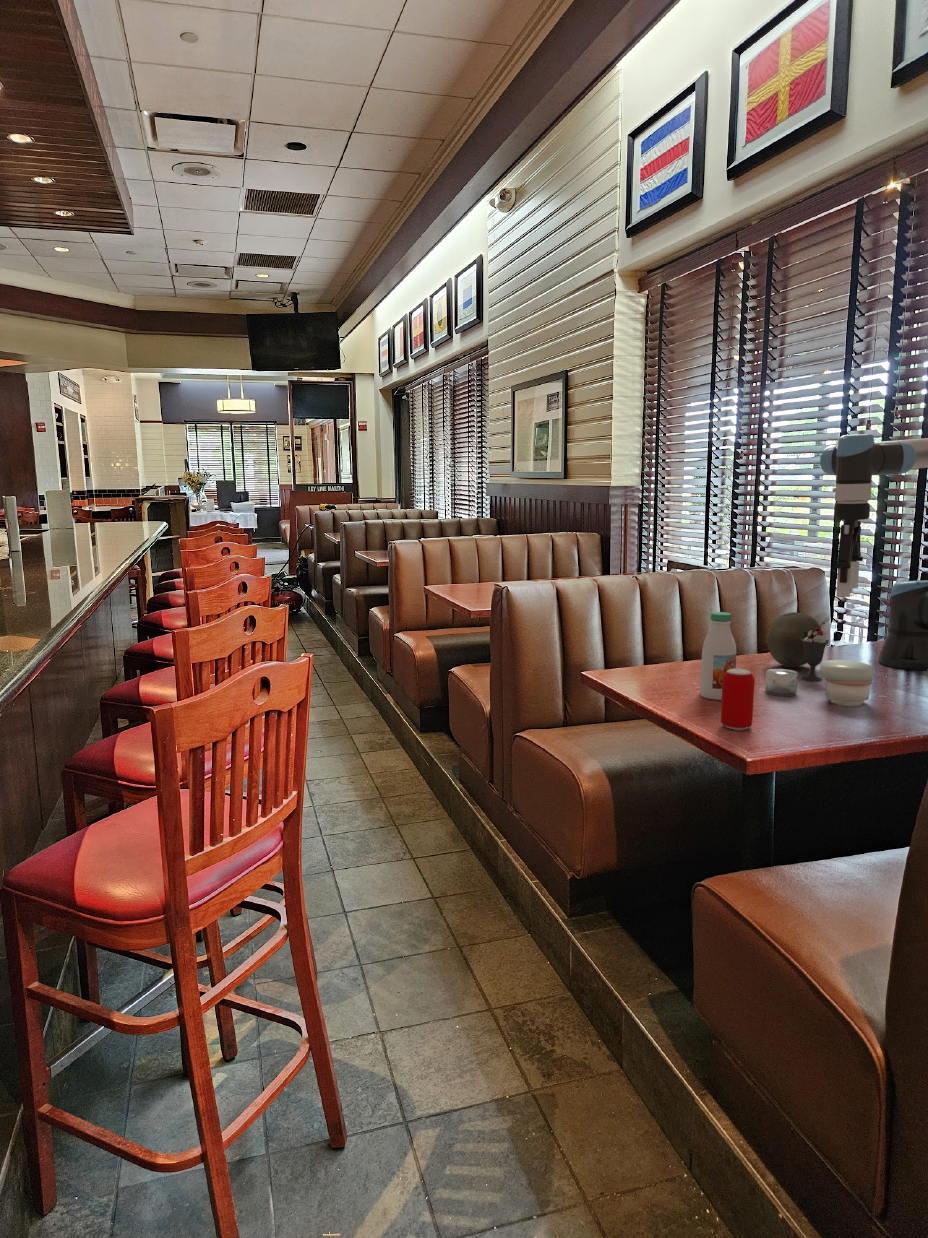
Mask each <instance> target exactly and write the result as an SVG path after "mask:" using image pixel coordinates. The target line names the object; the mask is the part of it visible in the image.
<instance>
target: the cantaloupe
mask: <svg viewBox="0 0 928 1238" xmlns="http://www.w3.org/2000/svg"><path fill="white" fill-rule="evenodd" d="M820 625H821V624H820V623H819V622H818V621H817V619H815V618H814V617H813V616H811V615H809V614H805V613H803V612H787V613H783V614H781V615H780V616H778V617H777V618H776V619H775V620H773V622H772V624H771V626H770V629H769V631H768V633H767V638H766V639H767V641H766V642H767V647H768V651H769V653H770V655H771V657H772V658H773V660H775V661H776V662H777V663H779V664H780V665H781V666H784V667H785V668H799V667H801V666H804V665H806V664H808V663H807V662H806V661H805V658H804V647H803V641H801V640H800V639H802V638H804V631H807V632H809V631H811V630H814V629H816V628H817V627H819V626H820ZM820 627H821V626H820ZM820 627H819V628H820Z"/></svg>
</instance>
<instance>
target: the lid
mask: <svg viewBox="0 0 928 1238" xmlns="http://www.w3.org/2000/svg"><path fill="white" fill-rule="evenodd" d="M819 676H821V678H824V679H825V678H828V679H831V680H837V681H846V682H865V681H870V680H872V681H873V677H874V666H872V665H871V664H868V663H866V662H862V661H861V662H860V661H855V660H846V659H828V660H822V661H821V663H820V665H819Z"/></svg>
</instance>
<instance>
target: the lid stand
mask: <svg viewBox="0 0 928 1238" xmlns="http://www.w3.org/2000/svg"><path fill="white" fill-rule="evenodd" d="M798 677H799V673H798V671H795V670H792V669H784V668H770V669H767V670H766V673H765V686H764V688H765V690H764V692H765V693H766V694H768V695H771V694H772V695H771V696H776V697H794V696H796V695H797V692H798V680H799V679H798Z"/></svg>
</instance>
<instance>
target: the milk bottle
mask: <svg viewBox="0 0 928 1238" xmlns="http://www.w3.org/2000/svg"><path fill="white" fill-rule="evenodd" d="M710 623H711V625H710V627H709V631H708V633H707V635H706V637H705V639H704V642H703V644H702V652H701V664H700V665H701V668H700V686H699V687H700V688H699V689H700V690H699V691H700V692H699V693H700V696H701V697H703V698H704V699H707V700H713V701H722V682H723V676H724V674H725V673H726V671H727V670H729V669H737V645H736V644H737V643H736V642H735V638H734V637H733V634H732V631H731V623H732V614H731V613H730V612H724V611H714V612H713V611H712V612H711V613H710Z"/></svg>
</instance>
